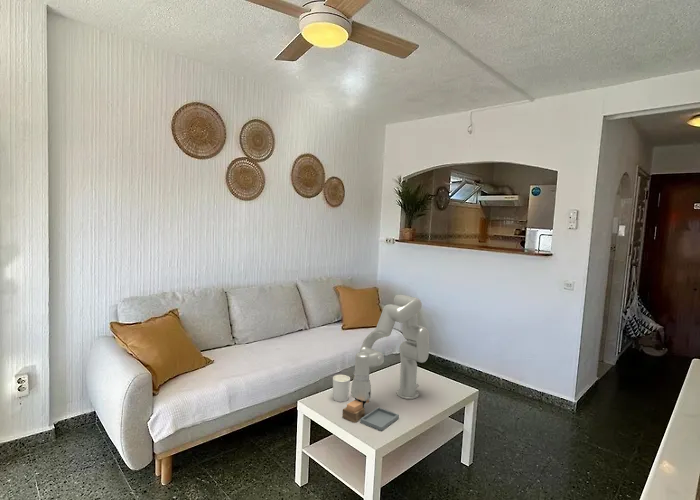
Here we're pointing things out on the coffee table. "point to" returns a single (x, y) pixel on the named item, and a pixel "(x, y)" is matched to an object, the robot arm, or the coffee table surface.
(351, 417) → the frame
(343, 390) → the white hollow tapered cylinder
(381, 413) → the tray
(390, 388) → the coffee table surface
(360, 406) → the peach slab with tab
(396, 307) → the robot arm
